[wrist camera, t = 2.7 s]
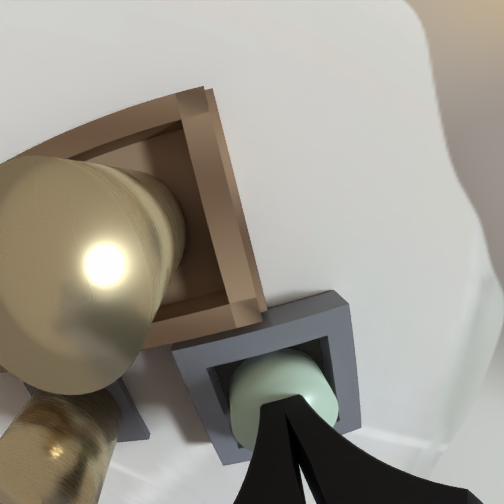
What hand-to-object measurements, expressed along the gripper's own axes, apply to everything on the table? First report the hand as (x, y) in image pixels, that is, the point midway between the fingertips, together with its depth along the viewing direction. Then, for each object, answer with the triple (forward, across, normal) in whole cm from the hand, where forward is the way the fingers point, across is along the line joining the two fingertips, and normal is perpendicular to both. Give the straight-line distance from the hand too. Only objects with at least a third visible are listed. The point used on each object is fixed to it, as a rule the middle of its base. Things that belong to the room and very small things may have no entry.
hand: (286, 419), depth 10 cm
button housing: (+3, 0, 0) cm, 3 cm away
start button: (+2, 0, 0) cm, 2 cm away
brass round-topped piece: (+2, +3, -7) cm, 8 cm away
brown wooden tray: (+3, +6, -7) cm, 10 cm away
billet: (+2, +8, 0) cm, 9 cm away
